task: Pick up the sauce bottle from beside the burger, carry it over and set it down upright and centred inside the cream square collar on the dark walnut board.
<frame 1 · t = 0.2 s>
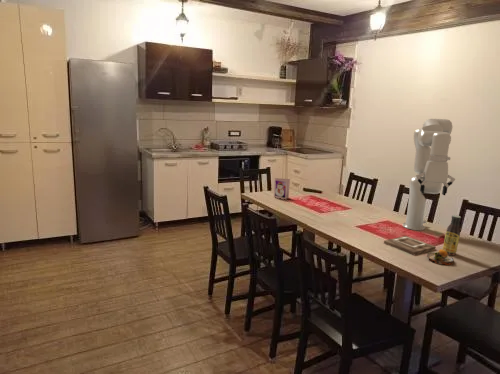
hand: (432, 193, 185), 31 cm above the table, tool pointing down, fingers open, 9 cm apart
greeting card: (281, 198, 293), on the table
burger: (439, 261, 183), on the table
sauce bottle: (449, 254, 192), on the table
walnut board: (409, 246, 200), on the table
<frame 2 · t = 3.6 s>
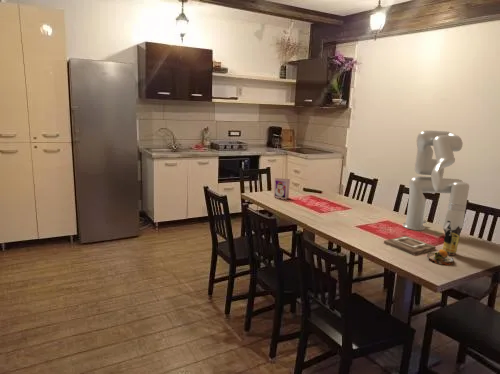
hand: (451, 241, 191), 7 cm above the table, tool pointing down, fingers closed on sauce bottle, 6 cm apart
sauce bottle: (449, 254, 192), on the table, touching gripper
everything else where it was.
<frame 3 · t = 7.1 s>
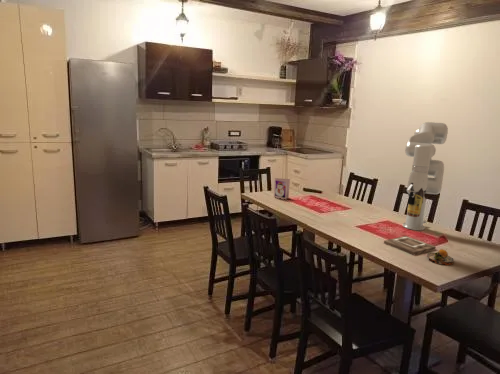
hand: (415, 203, 195), 23 cm above the table, tool pointing down, fingers closed on sauce bottle, 6 cm apart
sauce bottle: (413, 216, 197), point 16 cm above the table, touching gripper
everything else where it was.
when the fingers open (10 cm above the table, at t = 10.7 s): sauce bottle drops 2 cm, resting on walnut board.
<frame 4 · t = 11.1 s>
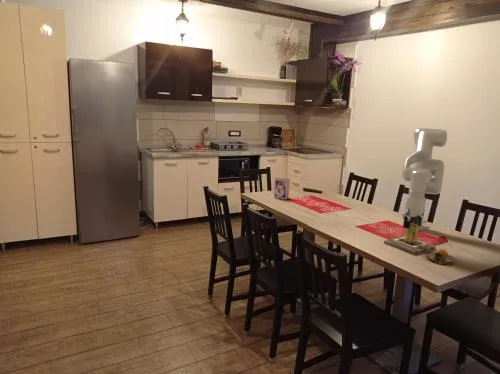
hand: (411, 226, 198), 11 cm above the table, tool pointing down, fingers open, 9 cm apart
sauce bottle: (409, 243, 200), point 1 cm above the table, touching walnut board
everything else where it was.
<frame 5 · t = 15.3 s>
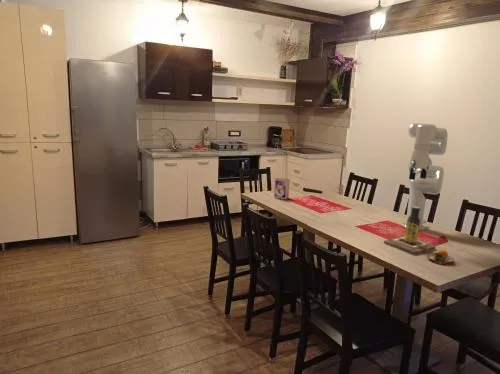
hand: (417, 178, 209), 33 cm above the table, tool pointing down, fingers open, 9 cm apart
nothing on the table moved.
at the end: sauce bottle 0.4 cm off-centre on the walnut board, point 1.3 cm above the walnut board's base; sauce bottle tilted 0°; the gripper is holding nothing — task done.
